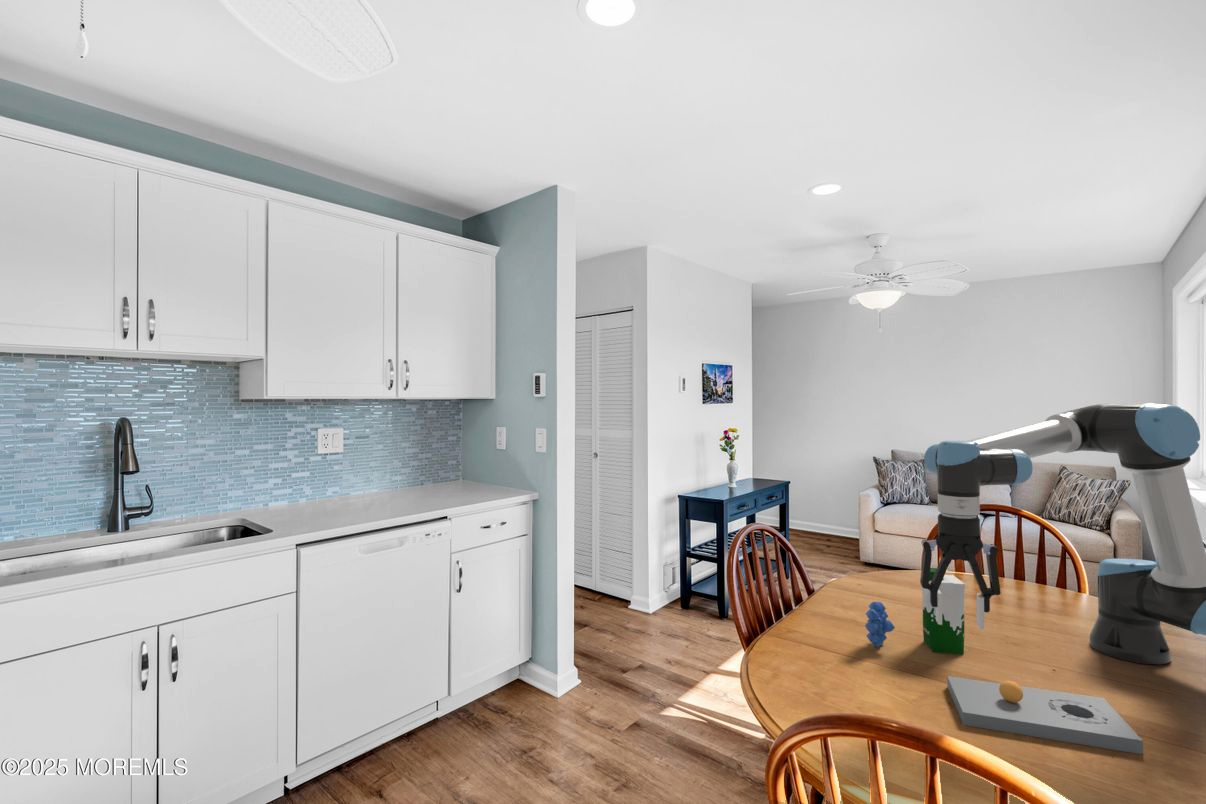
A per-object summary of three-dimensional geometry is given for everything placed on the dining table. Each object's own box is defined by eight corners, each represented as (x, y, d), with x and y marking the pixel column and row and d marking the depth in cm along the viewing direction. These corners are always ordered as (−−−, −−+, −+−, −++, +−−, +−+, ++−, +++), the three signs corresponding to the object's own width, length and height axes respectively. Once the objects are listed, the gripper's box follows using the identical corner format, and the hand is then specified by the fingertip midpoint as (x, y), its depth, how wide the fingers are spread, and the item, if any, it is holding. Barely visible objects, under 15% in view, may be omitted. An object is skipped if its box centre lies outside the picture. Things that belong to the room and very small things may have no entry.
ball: (1019, 698, 120) (1019, 678, 120) (1026, 708, 116) (1025, 687, 116) (996, 695, 121) (996, 675, 121) (1002, 704, 117) (1002, 684, 117)
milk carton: (918, 639, 155) (918, 564, 155) (956, 642, 153) (955, 566, 153) (930, 653, 147) (929, 574, 146) (970, 656, 145) (969, 576, 145)
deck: (1103, 710, 119) (1103, 697, 119) (1143, 754, 105) (1142, 740, 105) (947, 687, 130) (947, 676, 130) (963, 724, 115) (963, 712, 115)
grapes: (888, 658, 144) (888, 610, 144) (860, 651, 149) (859, 604, 148) (901, 643, 153) (900, 598, 153) (874, 637, 157) (873, 592, 157)
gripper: (907, 515, 122) (908, 625, 122) (1020, 521, 115) (1021, 637, 115) (903, 508, 129) (904, 612, 129) (1009, 514, 122) (1010, 624, 122)
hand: (959, 624), depth 122 cm, fingers open, 7 cm apart
